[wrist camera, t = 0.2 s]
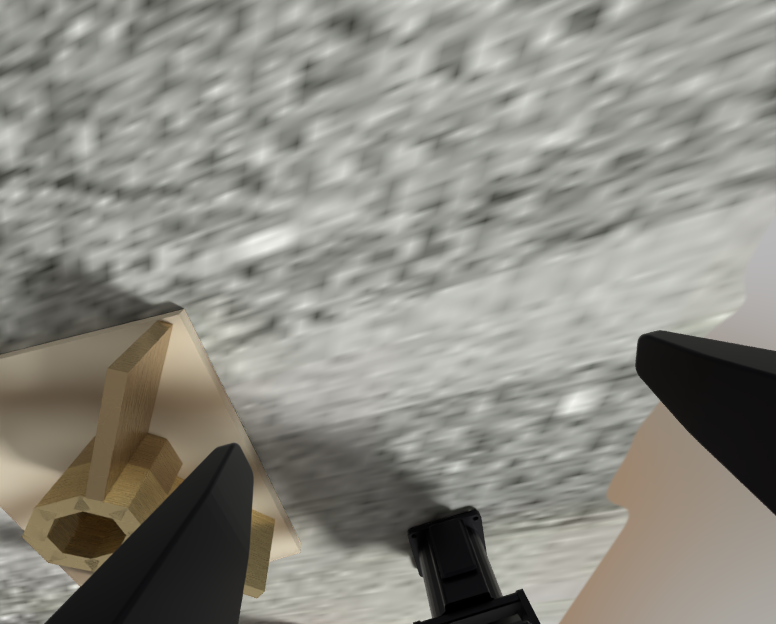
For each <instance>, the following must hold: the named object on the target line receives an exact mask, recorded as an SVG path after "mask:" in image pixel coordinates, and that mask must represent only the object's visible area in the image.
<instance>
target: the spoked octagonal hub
mask: <svg viewBox="0 0 776 624" xmlns="http://www.w3.org/2000/svg"><path fill="white" fill-rule="evenodd" d="M172 328H173V324H171V323H167V322H164V321H160V320H157V321H156V322H155V323H154V324H153V325H152V326H151V327H150V328H149V329H148V330H147V331H146V332H145V333H144V334H143V335H141V336H140V337H139V338H138V339H137V340H136V341H135V342H134V343H133V344H132V345H131V346H130V347H129V348H128V349H127V350H126V351H125V352H124V353H123V354H122V355H121V356H120V357H119V358H117V359H116V360H115V361H114V362H113V363H112V364H111V365H110V366H109V367H108V368H107V373H106V379H105V385H104V391H103V396H102V402H101V408H100V414H99V420H98V426H97V431H96V436H94V437H93V439H92V440H91V441H90V442H89V443H88V445H87V446H86V447H85V448H84V449H83V450H82V452H81V453H80V454H79V455H78V456H77V458H76V459H75V460H74V461H73V462H72V464H71V465H70V466H69V467H68V468H67V470H66V471H65V472H64V473H63V474H62V476H61V477H60V478H59V479H58V480H57V482H56V483H55V484H54V485H53V486H52V488H51V489H50V490H49V491H48V492H47V493H46V495H45V496H44V497H43V498H42V499H41V501H40V502H39V503H38V504H37V505H36V507H35V508H34V510H33V512H32V514H31V517H30V519H29V521H28V524H27V526H26V529H25V531H24V533H23V536H22V538H23V539H24V540H25V541H27V542H28V543H29V544H30V545H31V546H32V547H33V548H34V549H35V550H36V551H37V552H38V553H39V554H40V555H41V556H42V557H43V558H44V559H45V560H46V561H47V562H48V563H51V564H56V565H62V566H67V567H72V568H77V569H82V570H88V571H93V572H95V571H96V570H97V569H98V568H99V567H100V566H101V565H102V564H103V563H104V562H105V561H106V560H107V559H108V558H109V557H110V556H111V555H112V554H113V553H114V552H115V551H116V550H117V549H118V548H119V547H120V545H121V544H122V543H123V542H124V541H125V540H126V539H127V538H128V537H129V536H130V535H131V534H132V533H133V532H134V531H135V530H136V529H137V528H138V527H139V526H140V525H141V524H142V523H143V522H144V521H145V520H146V519H147V518H148V517H149V516H150V515H151V514H152V513H153V512H154V511H155V510H156V509H157V507H158V506H159V505H160V504H161V503H162V502H163V501H164V500H165V499H166V498H167V497H168V496H169V495H170V494H171V493H172V492H173V491H174V490H175V489H176V488H177V487H178V486H179V485H180V484H181V483H182V482H183V481H184V480H185V479H183V478H180V477H178V476H177V475H178V473H179V471H180V469H181V466H182V464H183V463H182V461H181V460H180V458H179V457H178V455H177V453H176V452H175V450H174V449H173V447H172V445H171V444H170V442H169V441H168V439H166V438H163V437H160V436H157V435H154V434H151V433H148V431H149V427H150V422H151V418H152V414H153V410H154V405H155V401H156V397H157V392H158V388H159V384H160V379H161V375H162V371H163V366H164V362H165V358H166V353H167V349H168V345H169V341H170V336H171V332H172ZM274 526H275V519H274V518H271V517H269V516H267V515H264V514H262V513H260V512H258V511H255V510H253V509H252V519H251V536H250V549H249V559H248V566H247V572H246V578H245V584H244V590H243V594H245V595H248V596H251V597H254V598H258V597H259V596H260V595H261V594H263V593H264V592H265V586H266V579H267V572H268V566H269V559H270V552H271V546H272V539H273V532H274Z"/></svg>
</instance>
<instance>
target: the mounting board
mask: <svg viewBox="0 0 776 624" xmlns="http://www.w3.org/2000/svg"><path fill="white" fill-rule="evenodd" d="M157 320H160V321H164V322H167V323H171V324H173V328H172V332H171V336H170V341H169V345H168V349H167V353H166V358H165V362H164V366H163V371H162V375H161V379H160V384H159V388H158V392H157V397H156V401H155V405H154V410H153V414H152V418H151V422H150V427H149V431H148V433H151V434H154V435H157V436H160V437H163V438H166V439H168V441H169V442H170V444H171V445H172V447H173V449H174V450H175V452H176V453H177V455H178V457H179V458H180V460H181V461H182V463H183V464H182V466H181V469H180V471H179V473H178V475H177V476H178V477H180V478H183V479H186V478H187V477H188V476H189V475H190V474H191V473H192V472H193V470H194V469H195V468H196V467H197V466H198V465H199V464H200V463H201V462H202V461H203V460H204V459H205V458H206V457H207V456H208V455H209V454H210V453H211V452H212V451H213V450H214V449H215V448H216V447H219V446H222V445H226V444H230V443H238V444H239V445H240V447H241V449H242V450H243V452H244V454H245V456H246V458H247V460H248V462H249V464H250V466H251V468H252V471H253V476H254V486H253V503H252V509H253V510H255V511H258V512H260V513H262V514H264V515H267V516H269V517H271V518H274V519H275V526H274V532H273V539H272V546H271V552H270V559H269V562H270V561H273V560H277V559H280V558H284V557H287V556H291V555H294V554H298V553H300V550H301V542H300V540H299V538H298V536H297V534H296V532H295V530H294V528H293V526H292V524H291V522H290V520H289V518H288V516H287V514H286V512H285V510H284V508H283V506H282V504H281V502H280V500H279V498H278V496H277V494H276V492H275V490H274V488H273V486H272V484H271V482H270V480H269V478H268V476H267V474H266V472H265V470H264V468H263V466H262V464H261V462H260V460H259V458H258V456H257V454H256V452H255V450H254V448H253V446H252V444H251V442H250V440H249V438H248V436H247V434H246V432H245V430H244V428H243V426H242V424H241V422H240V420H239V418H238V416H237V414H236V412H235V410H234V408H233V406H232V404H231V402H230V400H229V398H228V396H227V394H226V392H225V390H224V388H223V386H222V384H221V382H220V380H219V378H218V376H217V374H216V372H215V370H214V368H213V366H212V364H211V362H210V360H209V358H208V356H207V354H206V352H205V350H204V348H203V346H202V344H201V342H200V340H199V338H198V336H197V334H196V332H195V330H194V328H193V326H192V324H191V322H190V320H189V318H188V316H187V314H186V312H185V310H184V309H182V310H178V311H174V312H170V313H166V314H162V315H158V316H154V317H150V318H146V319H142V320H138V321H134V322H130V323H126V324H122V325H118V326H114V327H110V328H106V329H101V330H97V331H93V332H89V333H85V334H81V335H77V336H73V337H69V338H65V339H61V340H57V341H53V342H49V343H45V344H41V345H37V346H33V347H29V348H25V349H21V350H17V351H13V352H9V353H5V354H1V355H0V507H1V508H2V509H3V510H4V511H5V512H6V513H7V514H8V515H9V516H10V517H11V518H12V519H13V520H14V521H15V522H16V523H17V524H18V525H19V526H20V527H21V528H22V529H23V530H24V531H25V529H26V526H27V524H28V521H29V519H30V517H31V514H32V512H33V510H34V508H35V507H36V505H37V504H38V503H39V502H40V501H41V499H42V498H43V497H44V496H45V495H46V493H47V492H48V491H49V490H50V489H51V488H52V486H53V485H54V484H55V483H56V482H57V480H58V479H59V478H60V477H61V476H62V474H63V473H64V472H65V471H66V470H67V468H68V467H69V466H70V465H71V464H72V462H73V461H74V460H75V459H76V458H77V456H78V455H79V454H80V453H81V452H82V450H83V449H84V448H85V447H86V446H87V445H88V443H89V442H90V441H91V440H92V439H93V437H94V436H96V431H97V426H98V420H99V414H100V408H101V402H102V396H103V391H104V385H105V379H106V373H107V368H108V367H109V366H110V365H111V364H112V363H113V362H114V361H115V360H116V359H117V358H119V357H120V356H121V355H122V354H123V353H124V352H125V351H126V350H127V349H128V348H129V347H130V346H131V345H132V344H133V343H134V342H135V341H136V340H137V339H138V338H139V337H140V336H141V335H143V334H144V333H145V332H146V331H147V330H148V329H149V328H150V327H151V326H152V325H153V324H154V323H155V322H156V321H157ZM59 566H60V567H61V568H62V569H63V570H64V571H65V572H66V573H67V574H68V575H69V576H70V577H71V578H72V579H73V580H74V581H75V582H76V583H77V584H78V585H79V586H80V587H81V586H82V584H83V583H84V582H85V581H86V580H87V579H88V578H89V577H90V576H91V575H92V574H93V573H94V572H93V571H88V570H82V569H77V568H72V567H67V566H62V565H59Z"/></svg>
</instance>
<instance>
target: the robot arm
mask: <svg viewBox="0 0 776 624" xmlns="http://www.w3.org/2000/svg"><path fill="white" fill-rule="evenodd" d="M635 367H636V371H637V373H638V375H639V376H640V378H641V379H642V380H643V381H644V382H645V383H646V385H647V386H648V387H649V388H650V389H651V390H652V391H653V393H654V394H655V395H656V396H657V397H658V398H659V399H660V401H661V402H662V403H663V404H664V405H665V406H666V407H667V408H668V409H669V411H670V412H671V413H672V414H673V415H674V416H675V418H676V419H677V420H678V421H679V422H680V423H681V424H682V425H683V426H684V427H685V429H686V430H687V431H688V432H689V433H690V434H691V435H692V436H693V437H694V438H695V439H696V440H697V441H698V442H699V443H700V444H701V445H702V446H703V447H704V448H705V449H707V451H709V452H710V453H711V454H712V455H713V456H714V457H715V458H716V459H717V460H718V461H719V462H720V463H721V464H722V465H723V466H724V467H725V468H726V469H727V470H728V471H730V472H731V473H732V474H733V475H734V476H735V477H736V478H737V479H738V480H739V481H740V482H741V483H742V484H743V485H744V486H745V487H746V488H748V490H750V492H752V493H753V494H754V495H755V496H756V497H757V498H758V499H759V500H760V501H761V502H762V503H763V504H764V505H765V506H767V508H768V509H769V510H770V511H771V512H773V513H774V514H775V515H776V351H772V350H767V349H761V348H756V347H750V346H744V345H739V344H734V343H728V342H722V341H717V340H712V339H706V338H701V337H695V336H690V335H684V334H679V333H673V332H668V331H662V330H659V331H654V332H650V333H646V334H643V335H641V336H640V337H639V339H638V343H637V353H636V363H635ZM253 486H254V476H253V471H252V468H251V466H250V464H249V462H248V460H247V458H246V456H245V454H244V452H243V450H242V449H241V447H240V445H239V444H238V443H230V444H226V445H222V446H219V447H216V448H215V449H214V450H213V451H212V452H211V453H210V454H209V455H208V456H207V457H206V458H205V459H204V460H203V461H202V462H201V463H200V464H199V465H198V466H197V467H196V468H195V469H194V470H193V472H192V473H191V474H190V475H189V476H188V477H187V478H186V479H185V480H184V481H183V482H182V483H181V484H180V485H179V486H178V487H177V488H176V489H175V490H174V491H173V492H172V493H171V494H170V495H169V496H168V497H167V498H166V499H165V500H164V501H163V502H162V503H161V504H160V505H159V506H158V507H157V509H156V510H155V511H154V512H153V513H152V514H151V515H150V516H149V517H148V518H147V519H146V520H145V521H144V522H143V523H142V524H141V525H140V526H139V527H138V528H137V529H136V530H135V531H134V532H133V533H132V534H131V535H130V536H129V537H128V538H127V539H126V540H125V541H124V542H123V543H122V544H121V545H120V547H119V548H118V549H117V550H116V551H115V552H114V553H113V554H112V555H111V556H110V557H109V558H108V559H107V560H106V561H105V562H104V563H103V564H102V565H101V566H100V567H99V568H98V569H97V570H96V571H95V572H94V573H93V574H92V575H91V576H90V577H89V578H88V579H87V580H86V581H85V582H84V583H83V584H82V586H81V587H80V588H79V589H78V590H77V591H76V592H75V593H74V594H73V595H72V596H71V597H70V598H69V599H68V600H67V601H66V602H65V603H64V604H63V605H62V606H61V607H60V608H59V609H58V610H57V611H56V612H55V613H54V614H53V615H52V616H51V617H50V618H49V619H48V620H47V621H46V622H45V624H238V621H239V615H240V609H241V603H242V597H243V590H244V584H245V578H246V572H247V566H248V559H249V549H250V536H251V519H252V503H253ZM408 537H409V541H410V544H411V548H412V551H413V555H414V558H415V562H416V565H417V568H418V572H419V575H420V576H421V577H423V578H424V583H425V587H426V592H427V597H428V601H429V606H430V610H431V615H432V619H428V620H425V621H422V622H420V621H417V622H413V624H540V622H539V620H538V618H537V616H536V614H535V612H534V610H533V608H532V606H531V604H530V602H529V601H528V599H527V597H526V595H525V593H524V591H523V589H520V590H517V591H516V592H515V593H512V594H509V595H506V596H503V595H502V593H501V590H500V588H499V585H498V583H497V580H496V578H495V575H494V572H493V570H492V567H491V565H490V562H489V560H488V557H487V553H486V546H485V540H484V533H483V526H482V520H481V516H480V513H479V511H476V510H475V511H470V512H467V513H463V514H460V515H456V516H453V517H449V518H446V519H442V520H439V521H435V522H432V523H428V524H425V525H421V526H418V527H414V528H411V529H410V530H408Z"/></svg>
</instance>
